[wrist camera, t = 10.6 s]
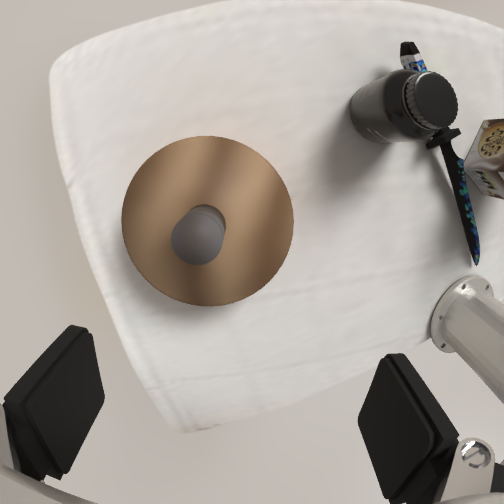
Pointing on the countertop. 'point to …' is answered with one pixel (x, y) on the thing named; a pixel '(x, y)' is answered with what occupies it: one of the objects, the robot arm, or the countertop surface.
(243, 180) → the lid
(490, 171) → the coffee box
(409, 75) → the supplement bottle
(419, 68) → the knife
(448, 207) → the countertop surface
